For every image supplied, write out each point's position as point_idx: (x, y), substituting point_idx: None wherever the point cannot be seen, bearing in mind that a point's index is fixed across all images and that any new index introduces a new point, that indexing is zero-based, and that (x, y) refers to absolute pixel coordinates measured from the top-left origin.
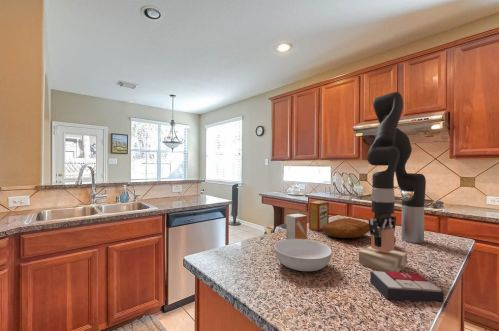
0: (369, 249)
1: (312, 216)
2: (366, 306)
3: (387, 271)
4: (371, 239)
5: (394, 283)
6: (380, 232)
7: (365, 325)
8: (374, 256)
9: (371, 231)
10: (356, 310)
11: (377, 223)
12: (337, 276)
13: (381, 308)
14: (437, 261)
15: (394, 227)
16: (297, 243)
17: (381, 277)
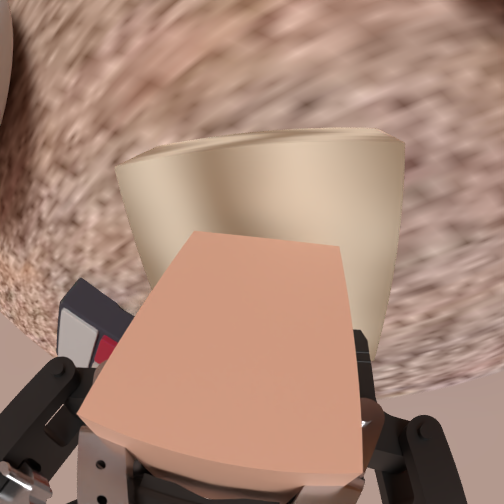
0: (227, 188)
1: None
2: (27, 311)
3: (106, 342)
4: (160, 282)
5: (79, 362)
6: None
7: (14, 323)
8: (148, 272)
9: (45, 389)
10: (12, 304)
11: (48, 495)
12: (17, 196)
13: (46, 330)
14: (489, 343)
15: (399, 489)
16: None
17: (64, 337)
